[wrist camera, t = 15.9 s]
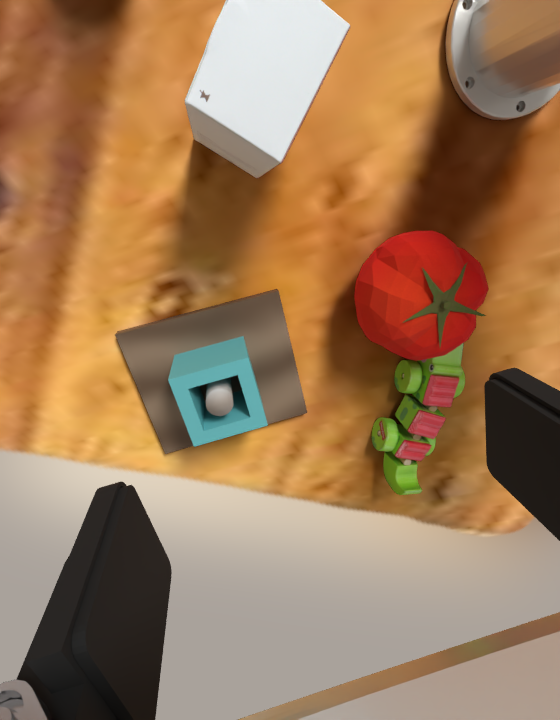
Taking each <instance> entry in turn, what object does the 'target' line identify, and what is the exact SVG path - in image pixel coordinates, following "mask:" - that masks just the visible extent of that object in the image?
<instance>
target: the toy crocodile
mask: <svg viewBox="0 0 560 720" xmlns="http://www.w3.org/2000/svg"><path fill="white" fill-rule="evenodd" d="M463 344H464V343H463ZM463 344H461V345H460V346H458V347H457V348H456V349H454V350H453V351H451V352H449V353H448V354H446V355H444V356H439V357H434V358H430V359H425V360H417V362H416V361H414V360H402V361H400V362H399V364H398V365H397V367H396V370H395V377H394V380H395V386H396V388H397V390H398V391H399V392H401V393H408V394H413V395H414V396H415V397H413V396H410V395H407V394H406V395H405V396H404V398H403V400H402V402H401V404H400V406H399V408H398V409H397V411H396V413H395V416H396V417H397V419H398V420H399V421H400V422H401V423H402V425H399V424H396V422H395V421H394V420H393V419H391V418H384V417H381V418H378V419H377V420H376V421H375V423H374V425H373V428H372V443H373V446H374V448H375V449H376V450H378V451H386V452H385V453H384V462H383V469H384V475H385V478H386V481H387V482H388V484H389V485H390V487H391V488H392V489H393V491H394V492H396V493H397V494H399V495H407V494H419V493H421V492H422V489H421V488H420V486H419V484H418V480H417V466H418V465H417V463H416V461H422V460H423V458H424V457H425V456H428V455H430V454H431V453H432V452H433V450H434V447H435V443H436V435H437V434H438V432H439V430H440V428H441V427H442V425H443V423H444V422H445V419H446V418H445V416H444V415H443V414H442V413H441V412H440V411H439V410H438V409H437V406H440V407H451V405H452V401H453V398H455V397H457V396H459V395H460V394H461V392H462V391H463V388H464V385H465V374H464V371H463V369H462V367H461V359H462V351H463ZM389 451H390V452H389ZM415 460H416V461H415Z"/></svg>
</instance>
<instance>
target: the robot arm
mask: <svg viewBox="0 0 560 720" xmlns="http://www.w3.org/2000/svg"><path fill="white" fill-rule="evenodd" d="M445 44H446V61H447V66H448V71H449V75H450V78H451V81H452V83H453V86H454V88H455V90H456V92H457V93H458V95H459V96H460V98H461V100H462V101H463V102H464V103H465V104H466V105H467V106H468V107H469V108H470V109H471V110H472V111H474V112H476V113H477V114H479V115H481V116H483V117H486V118H489V119H493V120H508V119H513V118H518V117H521V116H524V115H527V114H530V113H531V112H533V111H535V110H537V109H539V108H541V107H542V106H543V105H545V104H546V103H547V102H548V101H550V100H551V99H552V98H553V97H554V96H555V95H556V94H557V93H558V91H559V90H560V0H455V1H454V3H453V6H452V8H451V12H450V16H449V20H448V25H447V33H446V43H445ZM465 83H466V85H465ZM485 420H486V455H487V466H488V469H489V471H490V473H491V474H492V476H493V477H494V478H495V479H496V480H497V481H498V482H499V483H500V484H501V485H502V486H503V487H504V488H506V489H507V490H508V491H509V492H510V493H511V494H512V495H513V496H514V497H515V498H516V499H517V500H518V501H519V502H520V503H521V504H522V505H523V506H524V507H525V508H526V509H527V510H528V511H529V512H530V513H531V514H532V515H533V516H534V517H536V518H537V519H538V520H539V521H540V522H541V523H542V524H543V525H544V526H545V527H546V528H547V529H548V530H549V531H550V532H551V533H552V534H553V535H554V536H555V537H556V538H557V539H558V540H559V541H560V391H559V390H557V389H555V388H553V387H551V386H549V385H547V384H546V383H544V382H542V381H540V380H538V379H536V378H534V377H532V376H531V375H529V374H527V373H525V372H523V371H521V370H519V369H517V368H511V369H507V370H504V371H500V372H497V373H493V374H492V375H491V376H490V378H489V381H487V382H486V383H485ZM170 583H171V565H170V561H169V559H168V557H167V554H166V553H165V551H164V548H163V546H162V544H161V542H160V540H159V538H158V536H157V534H156V532H155V530H154V527H153V525H152V523H151V521H150V519H149V517H148V515H147V513H146V511H145V509H144V507H143V505H142V502H141V500H140V498H139V496H138V494H137V492H136V490H135V488H134V487H133V486H132V485H129V486H126V484H125V483H124V482H118V483H115V484H111V485H108V486H104V487H101V488H99V489H97V491H96V492H95V495H94V497H93V500H92V502H91V505H90V507H89V510H88V512H87V514H86V517H85V519H84V522H83V524H82V527H81V529H80V531H79V534H78V536H77V539H76V541H75V544H74V546H73V549H72V551H71V553H70V556H69V557H68V559H67V560H66V562H65V564H64V567H63V569H62V572H61V574H60V576H59V579H58V581H57V583H56V586H55V588H54V591H53V593H52V596H51V598H50V600H49V603H48V605H47V608H46V610H45V612H44V615H43V617H42V620H41V622H40V624H39V627H38V629H37V632H36V634H35V636H34V639H33V641H32V644H31V646H30V648H29V651H28V653H27V656H26V658H25V661H24V663H23V665H22V668H21V670H20V673H19V675H18V677H17V680H11V681H7V682H3V683H1V684H0V720H155V716H156V707H157V698H158V690H159V681H160V672H161V663H162V654H163V644H164V636H165V628H166V618H167V610H168V609H167V608H168V601H169V592H170ZM238 720H560V612H559V613H556V614H553V615H550V616H547V617H544V618H541V619H537V620H534V621H531V622H528V623H525V624H522V625H519V626H516V627H513V628H510V629H507V630H504V631H501V632H498V633H495V634H492V635H489V636H486V637H482V638H480V639H477V640H473V641H471V642H467V643H464V644H462V645H458V646H455V647H452V648H449V649H447V650H443V651H440V652H437V653H434V654H431V655H428V656H425V657H422V658H419V659H416V660H413V661H410V662H407V663H404V664H401V665H398V666H395V667H392V668H389V669H386V670H383V671H380V672H377V673H374V674H371V675H368V676H365V677H362V678H359V679H356V680H353V681H350V682H347V683H344V684H341V685H339V686H336V687H332V688H329V689H326V690H324V691H321V692H318V693H315V694H312V695H309V696H306V697H303V698H300V699H297V700H294V701H291V702H288V703H285V704H282V705H279V706H276V707H273V708H270V709H268V710H264V711H262V712H259V713H256V714H253V715H250V716H247V717H244V718H241V719H238Z"/></svg>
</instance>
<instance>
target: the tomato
mask: <svg viewBox="0 0 560 720" xmlns="http://www.w3.org/2000/svg"><path fill="white" fill-rule="evenodd" d="M487 292H488V285H487V281H486V277H485V274H484V271H483V269H482V266H481V264H480V263H479V262H478V261H477V260H476V259H475V258H474V257H473V256H471V255H470V254H469V253H468V252H467V251H466V250H464V249H462V248H459V247H457V246H456V245H455V243H453V242H452V241H451V240H450V239H448V238H447V237H446V236H444V235H443V234H441V233H438V232H435V231H412V232H406V233H402V234H399V235H396V236H394V237H391V238H389V239H387V240H386V241H385V242H384V243H382V244H381V245H380V246H379V247H377V248H376V249H375V250H374V252H373V253H372V254H371V255H370V256H369V258H368V259H367V260H366V261H365V263H364V264H363V265H362V267H361V270H360V272H359V275H358V277H357V280H356V285H355V293H354V298H355V305H356V313H357V319H358V323H359V325H360V327H361V329H362V330H363V332H364V334H365V336H366V337H367V338H368V339H369V340H371V341H372V342H374V343H376V344H379V345H381V346H383V347H384V348H386V349H387V350H389V351H390V352H392V353H395V354H397V355H399V356H402V357H404V358H407V359H411V360H425V359H430V358H434V357H439V356H444V355H446V354H448V353H449V352H451V351H453V350H454V349H456V348H457V347H458V346H460V345H461V344H463V343H464V342H465V341H467V340H468V339H469V337H470V336H471V334H472V332H473V331H474V329H475V327H476V315H479V316H486V315H484V314H481V313H479V312H477V311H476V309H477V308H478V307H479V306H480V305H481V304H483V302H484V299H485V297H486V294H487Z"/></svg>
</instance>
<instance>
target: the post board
mask: <svg viewBox="0 0 560 720" xmlns="http://www.w3.org/2000/svg"><path fill="white" fill-rule="evenodd" d="M115 336H116V338H117V340H118V343H119V345H120V348H121V350H122V352H123V355H124V357H125V359H126V362H127V364H128V367H129V369H130V371H131V374H132V376H133V378H134V381H135V383H136V385H137V388H138V390H139V393H140V395H141V397H142V400H143V402H144V404H145V407H146V409H147V412H148V414H149V416H150V419H151V421H152V423H153V426H154V428H155V430H156V433H157V435H158V438H159V440H160V442H161V445H162V447H163V449H164V452H165V454H167V453H170V452H174V451H177V450H181V449H184V448H187V447H191V446H194V445H193V443H192V440H191V438H190V435H189V433H188V430H187V427H186V425H185V422H184V420H183V417H182V414H181V412H180V409H179V407H178V404H177V402H176V399H175V396H174V394H173V391H172V389H171V386H170V384H169V381H168V378H169V374H170V370H171V367H172V363H173V359H174V355H177V354H180V353H184V352H187V351H191V350H195V349H198V348H202V347H205V346H209V345H213V344H216V343H220V342H224V341H227V340H231V339H234V338H238V337H242V336H243V337H244V340H245V344H246V347H247V351H248V354H249V358H250V361H251V364H252V368H253V371H254V375H255V378H256V382H257V385H258V389H259V392H260V396H261V400H262V404H263V408H264V412H265V416H266V420H267V424H271V423H274V422H278V421H281V420H285V419H288V418H292V417H295V416H299V415H302V414H305V413H307V410H306V405H305V401H304V397H303V393H302V388H301V384H300V380H299V376H298V372H297V367H296V363H295V359H294V355H293V350H292V346H291V342H290V338H289V333H288V329H287V325H286V321H285V316H284V312H283V308H282V304H281V300H280V295H279V291H278V290H277V289H275V290H271V291H267V292H264V293H260V294H256V295H252V296H249V297H245V298H241V299H238V300H234V301H230V302H226V303H223V304H219V305H215V306H211V307H208V308H204V309H200V310H196V311H193V312H189V313H185V314H182V315H178V316H174V317H170V318H167V319H163V320H159V321H155V322H152V323H148V324H144V325H140V326H137V327H133V328H129V329H125V330H122V331H118V332H117V333H116V334H115ZM200 389H201V391H202V394H203V397H204V400H205V401H206V408H207V410H208V411H209V412H210V413H211V414H213V415H215V416H224V415H226V414H228V413H229V412H230V411H231V410H232V408H233V395H232V393H234V392H238V391H241V390H242V387H241V384H240V381H239V378H238V375H236V376H232V377H229V378H225V379H221V380H218V381H214V382H211V383H207V384H204V385H200Z"/></svg>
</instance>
